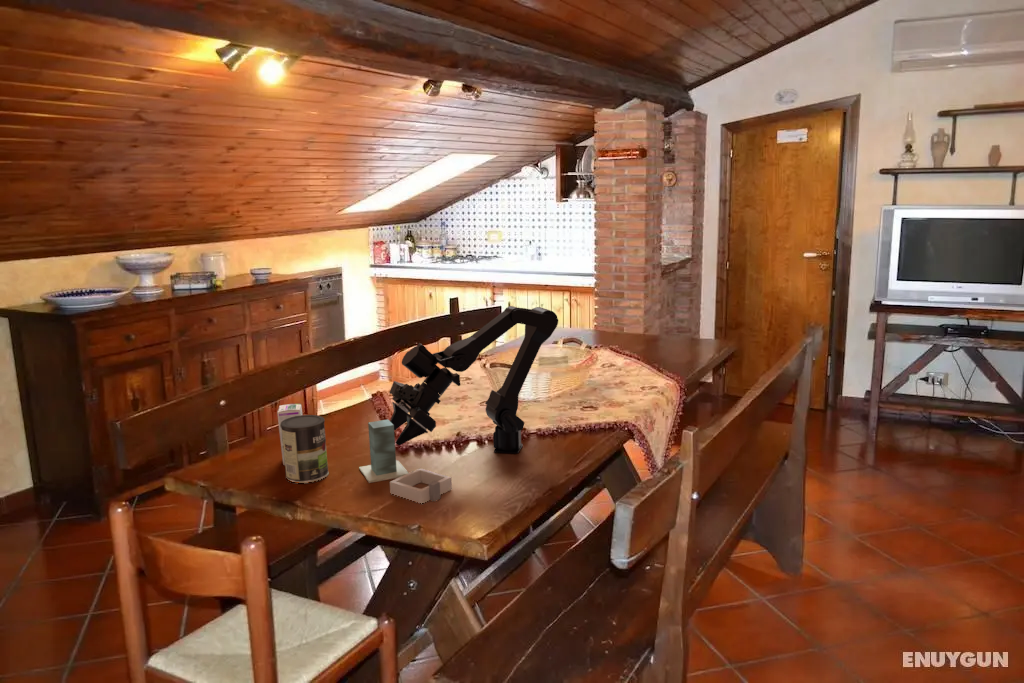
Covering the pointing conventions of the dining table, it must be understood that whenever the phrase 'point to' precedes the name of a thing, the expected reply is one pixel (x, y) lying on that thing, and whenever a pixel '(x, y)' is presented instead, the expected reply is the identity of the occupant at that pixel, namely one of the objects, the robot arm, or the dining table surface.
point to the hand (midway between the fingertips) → (391, 438)
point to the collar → (431, 492)
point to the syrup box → (286, 413)
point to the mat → (373, 477)
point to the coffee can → (304, 448)
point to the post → (382, 447)
